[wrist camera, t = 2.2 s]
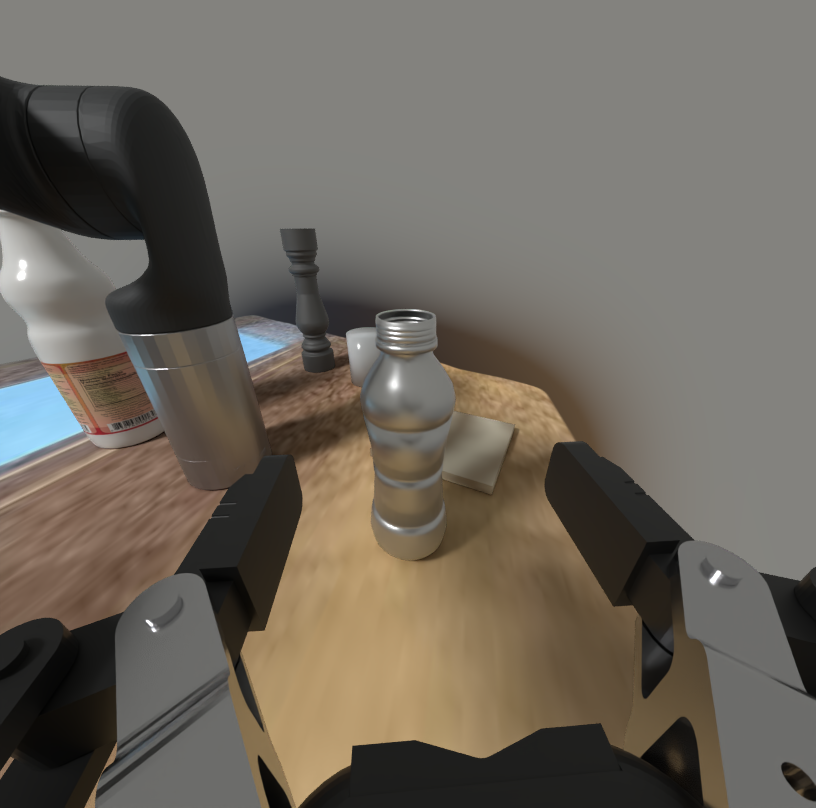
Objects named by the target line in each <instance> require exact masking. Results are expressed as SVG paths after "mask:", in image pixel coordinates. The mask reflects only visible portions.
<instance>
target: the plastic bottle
mask: <svg viewBox="0 0 816 808" xmlns="http://www.w3.org/2000/svg"><path fill="white" fill-rule="evenodd" d="M376 333H377V336H376V338H375V342H376V347H377V349H379V350H380V351H381V353H380V356H379V357H378V359H377V360H376V361H375V363H374V364H373V366H372V367H371V369H370V371H369V373H368V374H367V376H366V378H365V380H364V382H363V385H362V390H361V394H360V401H361V407H362V411H363V416H364V419H365V423H366V427H367V431H368V435H369V439H370V443H371V450H372V457H373V463H374V471H375V480H374V499H373V503H372V510H371V526H372V530H373V532H374V535H375V538H376V540H377V542H378V544H379V546H380V547H381V548H382V549H383V550H384V551H385V552H386V553H388V554H389V555H391V556H393V557H395V558H398V559H402V560H408V561H410V560H418V559H422V558H424V557H426V556H428V555H430V554H432V553H433V552H434V551H435V550H436V549H437V548H438V547H439V545H440V543H441V541H442V539H443V536H444V533H445V530H446V526H447V518H446V508H445V503H444V500H443V485H442V470H443V461H444V454H445V446H446V441H447V437H448V433H449V429H450V425H451V421H452V416H453V412H454V407H455V401H456V396H455V391H454V387H453V383H452V381H451V379H450V378H449V376H448V374H447V373H446V371H445V369H444V368H443V366H442V365H441V364H440V362H439V361H438V360H437V359H436V357H435V356H434V355H433V350H434V349H436V348H437V336H436V316H435V314H433V313H431V312H428V311H423V310H414V309H400V310H390V311H384V312H381V313H379V314H377V315H376Z"/></svg>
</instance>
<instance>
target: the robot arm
mask: <svg viewBox="0 0 816 808" xmlns="http://www.w3.org/2000/svg"><path fill="white" fill-rule="evenodd" d="M0 209H1V210H4V211H7V212H10V213H13V214H16V215H19V216H22V217H25V218H28V219H31V220H34V221H37V222H40V223H43V224H46V225H49V226H52V227H55V228H58V229H61V230H64V231H68V232H71V233H75V234H78V235H82V236H87V237H91V238H99V239H108V240H145V242H146V246H147V249H148V255H149V266H148V268H147V269H146V271H145V272H144V274H143V275H142V276H141V277H140V278H138V279H137V280H136V281H134V282H132V283H131V284H129V285H126V286H124V287H122V288H119V289H117V290H115V291H113V292H111V293H110V294H108V295H107V297H106V299H105V305H106V309H107V311H108V314H109V316H110V318H111V320H112V322H113V324H114V326H115V328H116V330H117V332H118V334H119V337H120V339H121V341H122V343H123V345H124V347H125V349H126V351H127V353H128V356H129V358H130V360H131V362H132V363H133V366H134V368H135V370H136V372H137V374H138V376H139V378H140V380H141V383H142V385H143V387H144V389H145V391H146V393H147V395H148V397H149V399H150V402H151V404H152V406H153V408H154V410H155V412H156V414H157V416H158V419H159V421H160V423H161V425H162V427H163V429H164V431H165V433H166V435H167V438H168V440H169V442H170V444H171V446H172V448H173V450H174V453H175V455H176V457H177V459H178V461H179V464H180V466H181V468H182V470H183V472H184V474H185V476H186V478H187V480H188V482H189V483H190V484H191V485H192V486H194V487H196V488H198V489H203V490H217V489H224V488H228V487H229V489H228V490H227V492H226V493H225V495H224V497H223V498H222V500H221V501H220V505H219V506H217V508H216V509H215V511H214V513H213V514H212V518H211V519H209V520H208V522H207V524H206V525H205V527H204V528H203V530H202V532H201V533H200V535H199V536H198V538H197V539H196V541H195V543H194V544H193V546H192V547H191V549H190V551H189V552H188V554H187V555H186V557H185V559H184V560H183V562H182V563H181V565H180V566H179V568H178V570H177V571H176V573H175V574H174V575H173V576H170V577H167V578H165V579H163V580H161V581H159V582H157V583H155V584H153V585H152V586H150V587H149V588H148V589H146V590H145V591H144V592H142V593H141V594H140V595H139V596H138V597H137V598H136V599H135V600H134V601H133V602H132V603H131V604H130V605H129V606H128V607H127V609H126V610H125V611H124V612H122V613H120V614H117V615H114V616H111V617H108V618H105V619H102V620H100V621H97V622H94V623H91V624H88V625H85V626H82V627H80V628H77V629H74V630H71V631H69V630H68V629H67V628H66V627H65V626H64V625H63V624H62V623H61V622H60V621H59V620H57V619H54V618H41V619H36V620H32V621H29V622H26V623H23V624H21V625H19V626H16V627H14V628H12V629H10V630H8V631H6V632H5V633H3V634H1V635H0V771H1V769H2V768H3V766H4V765H5V763H6V762H7V760H8V759H9V758H10V756H11V757H12V758H14V760H13V762H12V763H11V765H10V766H9V768H8V769H7V770H6V772H5V773H4V775H3V776H2V778H1V779H0V808H84V807H85V805H86V803H87V801H88V799H89V797H90V795H91V793H92V791H93V789H94V787H95V785H96V783H97V781H98V779H99V777H100V775H101V773H102V771H103V769H104V767H105V765H106V763H107V761H108V758H109V756H110V754H111V752H112V750H113V748H114V746H115V744H116V742H117V754H116V758H115V760H114V762H113V763H112V764H110V765H109V766H108V767H106V769H105V770H104V771H103V773H102V775H101V777H100V779H99V782H98V787H97V791H96V799H95V808H296V806H295V803H294V800H293V797H292V794H291V791H290V788H289V785H288V782H287V779H286V777H285V774H284V771H283V768H282V766H281V763H280V761H279V758H278V756H277V753H276V751H275V749H274V747H273V744H272V741H271V739H270V736H269V733H268V730H267V727H266V724H265V721H264V718H263V715H262V712H261V709H260V706H259V703H258V700H257V697H256V694H255V691H254V688H253V685H252V682H251V679H250V676H249V673H248V670H247V667H246V663H245V660H244V657H243V654H242V652H241V649H242V646H243V644H244V641H245V638H246V635H247V632H249V631H263V630H265V627H266V624H267V621H268V618H269V615H270V611H271V608H272V605H273V602H274V599H275V595H276V592H277V589H278V586H279V582H280V579H281V576H282V573H283V570H284V566H285V563H286V560H287V557H288V554H289V550H290V547H291V544H292V541H293V538H294V534H295V531H296V528H297V525H298V521H299V518H300V515H301V511H302V491H301V487H300V483H299V479H298V475H297V470H296V466H295V462H294V459H293V456H292V455H272V451H271V447H270V444H269V440H268V437H267V433H266V429H265V425H264V422H263V418H262V415H261V411H260V407H259V404H258V400H257V397H256V393H255V390H254V386H253V383H252V379H251V376H250V372H249V368H248V365H247V361H246V358H245V354H244V351H243V347H242V344H241V341H240V337H239V334H238V330H237V326H236V323H235V319H234V316H233V313H232V309H231V305H230V301H229V294H228V284H227V276H226V272H225V268H224V264H223V260H222V256H221V252H220V247H219V243H218V239H217V234H216V230H215V225H214V220H213V216H212V211H211V206H210V202H209V197H208V193H207V189H206V185H205V181H204V177H203V174H202V171H201V168H200V165H199V161H198V159H197V156H196V154H195V151H194V149H193V147H192V144H191V142H190V140H189V138H188V136H187V134H186V132H185V131H184V129H183V127H182V126H181V124H180V123H179V121H178V119H177V118H176V117H175V115H174V114H173V113H172V112H171V110H170V109H169V108H168V107H167V106H166V105H165V104H164V103H163V102H162V101H160V100H159V99H158V98H157V97H155V96H154V95H152V94H150V93H148V92H146V91H144V90H141V89H137V88H132V87H118V86H56V85H55V86H54V85H46V86H45V85H32V84H26V83H21V82H17V81H12V80H9V79H6V78H3V77H0ZM545 492H546V496H547V499H548V501H549V502H550V504H551V506H552V507H553V509H554V511H555V512H556V514H557V515H558V517H559V519H560V520H561V522H562V524H563V525H564V527H565V528H566V530H567V532H568V533H569V535H570V537H571V538H572V540H573V541H574V543H575V545H576V546H577V548H578V550H579V551H580V553H581V555H582V556H583V558H584V559H585V561H586V563H587V564H588V566H589V568H590V569H591V571H592V572H593V574H594V576H595V577H596V579H597V581H598V582H599V584H600V585H601V587H602V589H603V590H604V592H605V594H606V595H607V597H608V599H609V600H610V602H611V603H612V605H613V607H615V606H628V605H633V606H634V608H635V609H636V611H637V612H638V614H639V615H638V616H637V618H636V621H635V647H634V685H633V705H632V711H631V715H630V718H629V721H628V724H627V728H626V732H625V738H624V745H623V750H622V749H620V748H618V747H615V746H613V745H610V743H609V741H608V739H607V737H606V734H605V732H604V730H603V728H602V725H601V723H599V724H588V725H577V726H566V727H555V728H544V729H540V730H538V731H536V732H534V733H533V734H531V735H529V736H527V737H525V738H523V739H521V740H519V741H518V742H516V743H514V744H512V745H510V746H508V747H506V748H505V749H503V750H501V751H499V752H497V753H495V754H493V755H491V756H490V757H487V758H476V757H472V756H469V755H465V754H462V753H458V752H455V751H451V750H448V749H444V748H441V747H437V746H434V745H430V744H427V743H423V742H420V741H416V740H412V741H401V742H390V743H379V744H368V745H357V746H352V761H351V765H350V766H348V767H346V768H344V769H342V770H340V771H339V772H337V773H336V774H334V775H333V776H332V777H330V778H329V779H327V780H326V781H324V782H323V783H322V784H321V785H320V786H319V787H318V788H317V789H316V790H314V791H313V792H312V793H311V794H310V795H309V796H308V797H307V798H306V799H305V801H304V802H303V803H302V804H301V805H300V806H299V807H298V808H816V567H815V568H813V569H812V570H811V571H810V572H809V573H808V574H807V575H806V576H805V577H804V578H803V579H802V580H801V581H798V580H793V579H788V578H783V577H778V576H773V575H769V574H764V573H760V572H758V571H757V570H755V569H754V568H753V567H752V566H751V565H750V564H748V563H747V562H746V561H745V560H743V559H742V558H740V557H739V556H737V555H735V554H734V553H732V552H730V551H728V550H726V549H724V548H722V547H719V546H717V545H714V544H711V543H707V542H702V541H695V540H694V539H692V537H690V536H689V534H688V533H686V532H685V531H684V530H683V529H682V528H681V527H680V526H679V525H678V524H677V523H676V522H675V521H674V520H673V519H672V518H671V517H670V516H669V515H668V514H667V513H666V512H665V511H664V510H663V509H662V508H661V507H660V506H659V505H658V504H657V503H656V502H655V501H654V500H653V499H652V498H651V497H650V496H649V495H646V494H645V491H644V490H643V489H642V488H641V487H640V486H639V485H638V484H635V483H634V480H633V479H632V478H631V477H629V475H628V474H627V473H625V471H624V470H623V469H621V468H620V467H619V466H617V465H615V464H614V463H612V462H610V461H609V460H607V459H605V458H604V457H599V456H598V455H597V454H596V453H595V452H594V450H592V448H590V446H589V445H588V444H587V443H585V442H583V441H580V442H558V443H556V444H555V445H554V447H553V451H552V454H551V458H550V462H549V466H548V470H547V474H546V478H545Z"/></svg>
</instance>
